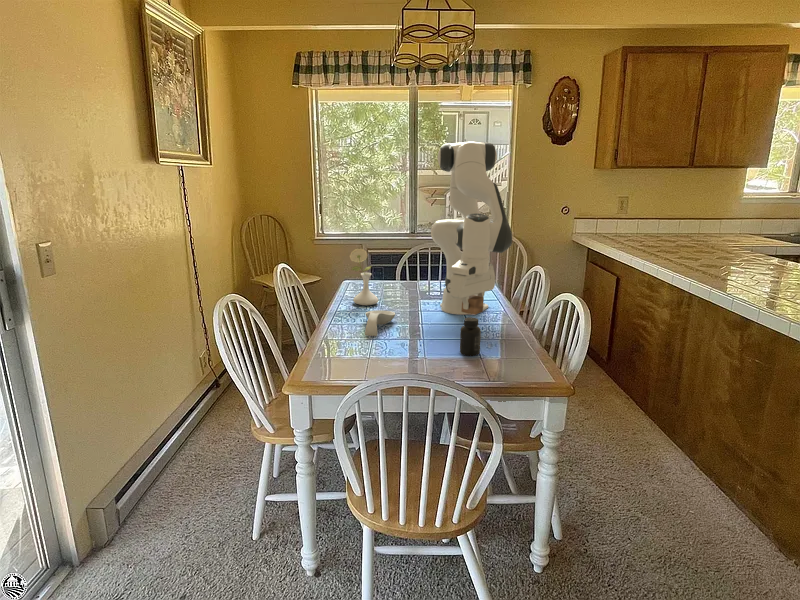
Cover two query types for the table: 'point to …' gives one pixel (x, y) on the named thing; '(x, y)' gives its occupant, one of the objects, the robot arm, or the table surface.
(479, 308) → the walnut cube
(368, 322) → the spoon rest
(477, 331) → the supplement bottle
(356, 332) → the table surface
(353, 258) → the flower in vase
